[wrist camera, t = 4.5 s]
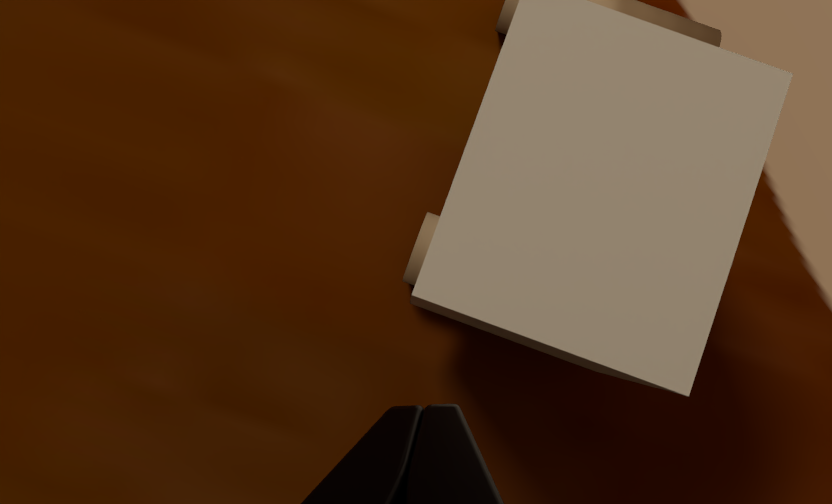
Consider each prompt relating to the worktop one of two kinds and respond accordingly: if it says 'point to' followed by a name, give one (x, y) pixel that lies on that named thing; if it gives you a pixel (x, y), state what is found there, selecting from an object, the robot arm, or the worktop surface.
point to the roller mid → (627, 4)
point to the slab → (603, 191)
